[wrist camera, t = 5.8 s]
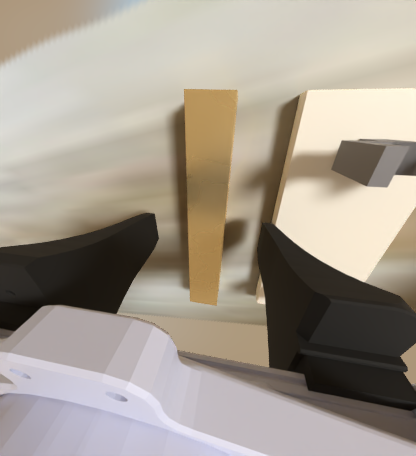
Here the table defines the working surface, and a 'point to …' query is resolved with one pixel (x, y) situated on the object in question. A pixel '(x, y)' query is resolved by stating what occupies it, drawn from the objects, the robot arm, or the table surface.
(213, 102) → the wooden bar
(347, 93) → the hook stand
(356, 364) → the robot arm
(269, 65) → the table surface
